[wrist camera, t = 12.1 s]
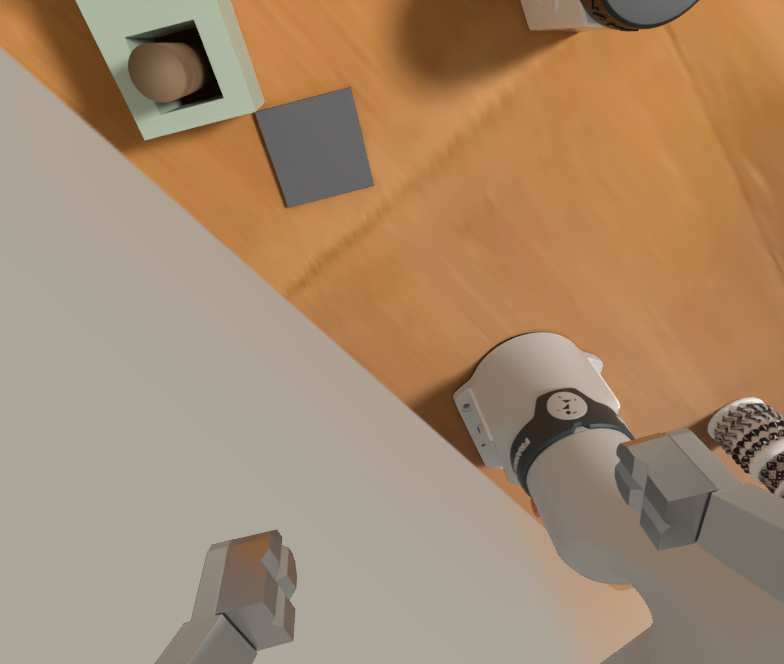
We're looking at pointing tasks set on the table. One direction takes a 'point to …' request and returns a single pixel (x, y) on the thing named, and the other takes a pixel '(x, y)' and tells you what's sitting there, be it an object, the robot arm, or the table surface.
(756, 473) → the decorative candle
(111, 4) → the socket block
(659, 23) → the jar
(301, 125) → the mat
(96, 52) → the table surface
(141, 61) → the walnut peg
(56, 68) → the table surface
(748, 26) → the table surface
